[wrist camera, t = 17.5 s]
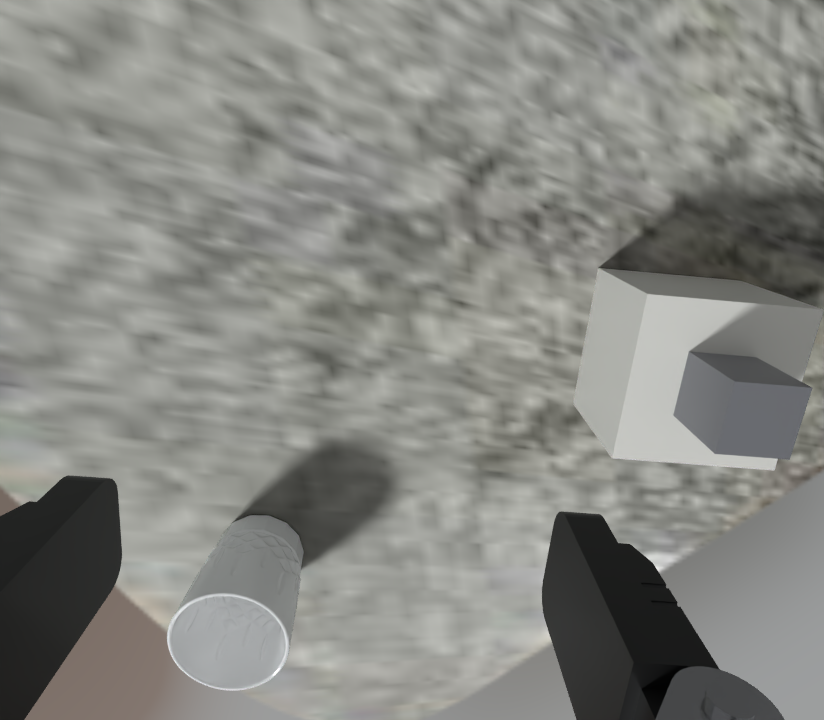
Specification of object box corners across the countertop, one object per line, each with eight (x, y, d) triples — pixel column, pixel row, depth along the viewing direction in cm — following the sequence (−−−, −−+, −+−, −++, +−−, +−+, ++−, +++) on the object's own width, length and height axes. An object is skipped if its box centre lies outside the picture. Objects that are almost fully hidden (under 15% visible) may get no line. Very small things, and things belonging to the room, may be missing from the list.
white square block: (598, 267, 42) (688, 315, 29) (740, 280, 42) (892, 333, 29) (572, 403, 45) (643, 502, 32) (705, 413, 46) (828, 515, 32)
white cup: (309, 507, 47) (286, 594, 38) (312, 590, 50) (291, 691, 40) (209, 506, 47) (160, 592, 38) (216, 589, 50) (172, 690, 40)
